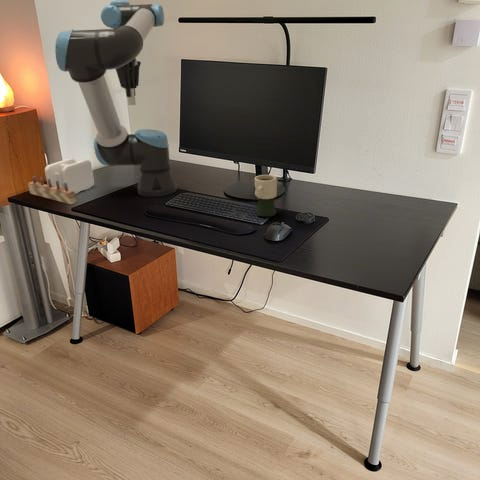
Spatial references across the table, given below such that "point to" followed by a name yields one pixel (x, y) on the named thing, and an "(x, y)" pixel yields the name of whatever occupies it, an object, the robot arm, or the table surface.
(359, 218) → the table surface
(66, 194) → the comb rail
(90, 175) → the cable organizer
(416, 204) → the table surface
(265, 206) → the character mug
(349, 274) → the table surface
